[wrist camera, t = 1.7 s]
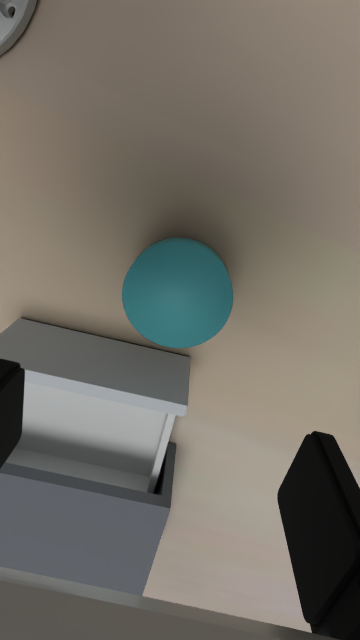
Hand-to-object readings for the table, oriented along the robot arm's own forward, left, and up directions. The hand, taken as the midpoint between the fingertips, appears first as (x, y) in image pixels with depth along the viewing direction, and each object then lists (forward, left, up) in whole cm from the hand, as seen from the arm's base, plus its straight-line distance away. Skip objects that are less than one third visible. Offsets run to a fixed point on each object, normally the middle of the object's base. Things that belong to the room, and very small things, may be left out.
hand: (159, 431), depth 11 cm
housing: (+24, -5, -17) cm, 30 cm away
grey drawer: (+13, -5, -17) cm, 22 cm away
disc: (0, 0, -14) cm, 14 cm away
